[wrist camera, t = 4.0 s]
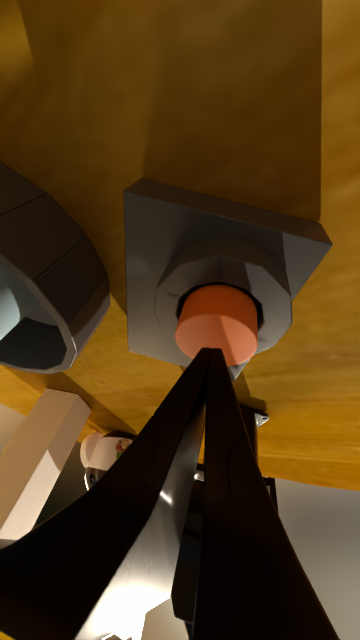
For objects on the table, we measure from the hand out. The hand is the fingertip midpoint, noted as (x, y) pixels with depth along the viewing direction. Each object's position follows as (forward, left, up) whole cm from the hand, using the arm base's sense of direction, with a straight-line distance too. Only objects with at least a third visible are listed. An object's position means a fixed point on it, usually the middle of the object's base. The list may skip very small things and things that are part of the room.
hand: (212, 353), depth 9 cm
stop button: (0, 0, -3) cm, 3 cm away
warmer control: (-2, +1, -6) cm, 7 cm away
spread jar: (-45, +9, -6) cm, 46 cm away
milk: (-31, +17, -6) cm, 36 cm away
